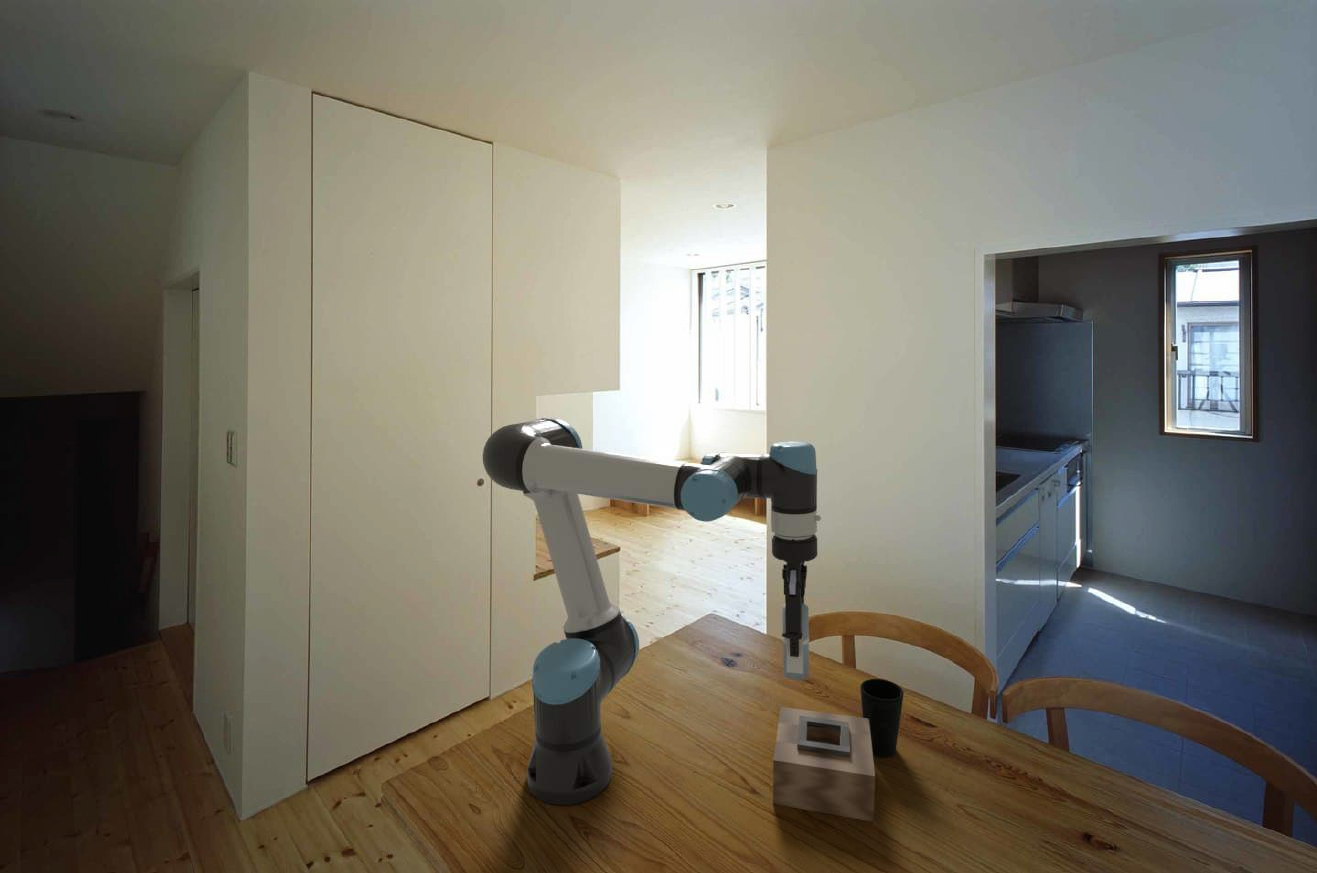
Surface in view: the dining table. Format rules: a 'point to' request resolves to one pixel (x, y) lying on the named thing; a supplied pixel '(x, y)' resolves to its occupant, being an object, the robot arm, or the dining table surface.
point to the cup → (882, 714)
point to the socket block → (824, 764)
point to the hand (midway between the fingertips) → (795, 664)
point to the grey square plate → (823, 741)
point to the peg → (805, 645)
